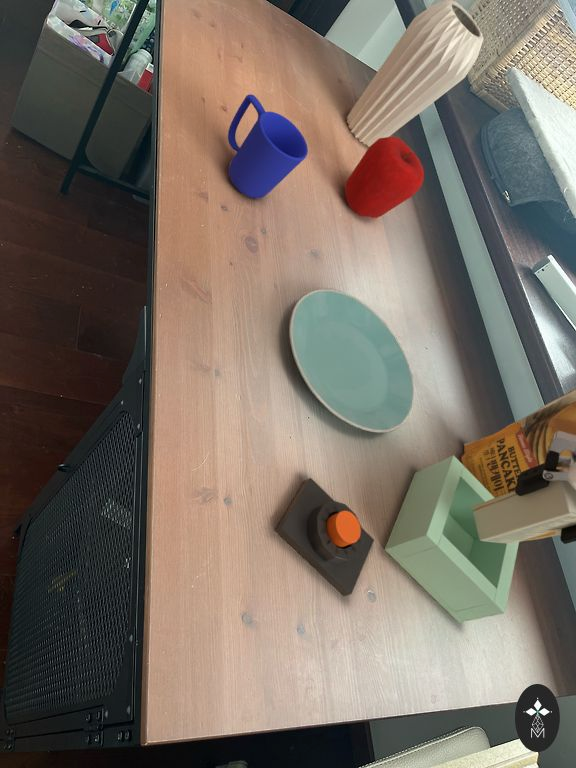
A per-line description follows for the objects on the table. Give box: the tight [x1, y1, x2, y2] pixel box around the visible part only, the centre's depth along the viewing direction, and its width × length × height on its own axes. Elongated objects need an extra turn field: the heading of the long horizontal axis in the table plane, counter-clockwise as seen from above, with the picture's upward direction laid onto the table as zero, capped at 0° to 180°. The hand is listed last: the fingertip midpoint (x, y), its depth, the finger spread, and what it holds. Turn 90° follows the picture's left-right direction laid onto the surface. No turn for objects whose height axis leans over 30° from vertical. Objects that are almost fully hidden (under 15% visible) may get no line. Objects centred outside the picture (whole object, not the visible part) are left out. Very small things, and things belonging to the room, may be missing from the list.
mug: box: [227, 93, 309, 199], centre depth 88 cm, size 8×12×10 cm
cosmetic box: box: [472, 481, 576, 544], centre depth 71 cm, size 6×4×12 cm
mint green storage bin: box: [384, 455, 520, 624], centre depth 79 cm, size 14×14×7 cm
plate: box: [288, 288, 416, 434], centre depth 85 cm, size 22×22×3 cm
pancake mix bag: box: [460, 388, 576, 543], centre depth 83 cm, size 7×19×28 cm, turn 8°
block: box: [275, 477, 375, 597], centre depth 70 cm, size 11×8×3 cm
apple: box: [345, 136, 425, 219], centre depth 104 cm, size 11×10×14 cm
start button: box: [326, 511, 361, 547], centre depth 68 cm, size 4×4×2 cm
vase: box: [346, 0, 485, 148], centre depth 113 cm, size 13×13×26 cm
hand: (541, 509), depth 70 cm, fingers closed on cosmetic box, 7 cm apart
